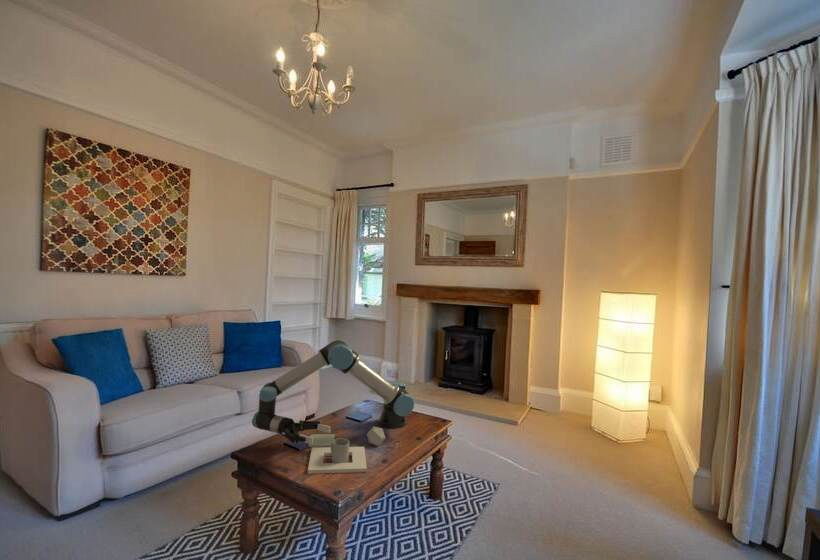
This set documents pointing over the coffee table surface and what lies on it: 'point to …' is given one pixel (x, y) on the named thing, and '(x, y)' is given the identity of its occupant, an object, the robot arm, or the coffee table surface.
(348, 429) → the coffee table surface
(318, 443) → the coaster
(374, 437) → the die
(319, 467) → the beige flat frame
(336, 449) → the cup
